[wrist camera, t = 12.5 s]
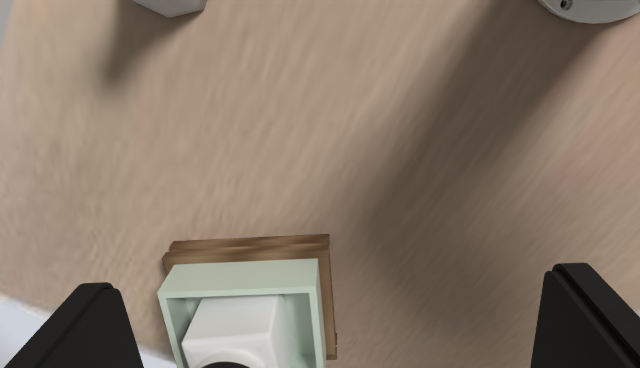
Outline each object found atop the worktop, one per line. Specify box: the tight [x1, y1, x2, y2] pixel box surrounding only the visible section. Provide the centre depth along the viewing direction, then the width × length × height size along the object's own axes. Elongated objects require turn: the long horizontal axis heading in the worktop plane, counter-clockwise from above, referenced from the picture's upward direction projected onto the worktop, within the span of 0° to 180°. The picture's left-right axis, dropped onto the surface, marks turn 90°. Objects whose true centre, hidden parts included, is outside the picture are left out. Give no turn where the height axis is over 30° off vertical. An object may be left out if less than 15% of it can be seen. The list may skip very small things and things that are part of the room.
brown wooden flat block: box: [162, 234, 337, 360], centre depth 43 cm, size 15×13×3 cm
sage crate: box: [157, 259, 326, 368], centre depth 39 cm, size 13×11×4 cm
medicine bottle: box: [181, 294, 294, 368], centre depth 35 cm, size 7×7×12 cm
